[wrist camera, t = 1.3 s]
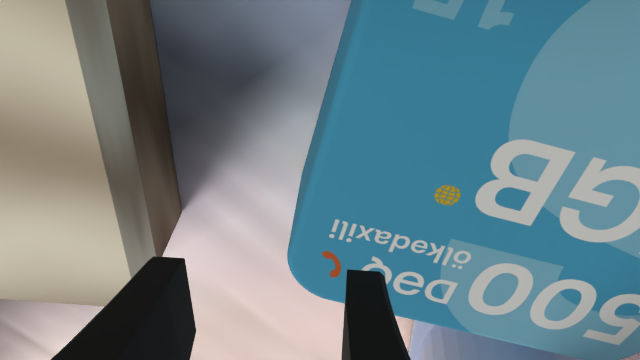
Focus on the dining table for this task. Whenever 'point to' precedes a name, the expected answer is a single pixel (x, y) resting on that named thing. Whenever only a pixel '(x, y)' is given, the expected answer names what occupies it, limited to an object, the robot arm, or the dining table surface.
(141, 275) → the robot arm
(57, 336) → the dining table surface
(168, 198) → the walnut box
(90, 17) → the cover plate
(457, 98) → the data package
